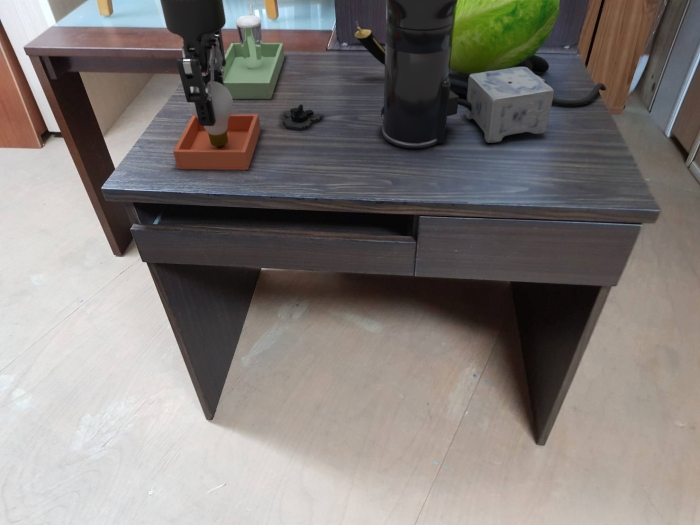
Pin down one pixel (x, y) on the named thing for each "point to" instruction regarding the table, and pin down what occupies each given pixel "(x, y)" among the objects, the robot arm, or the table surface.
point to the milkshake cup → (250, 39)
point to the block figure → (300, 118)
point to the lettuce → (499, 33)
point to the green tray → (252, 72)
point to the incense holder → (509, 102)
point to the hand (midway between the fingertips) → (213, 112)
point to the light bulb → (218, 114)
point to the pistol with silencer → (378, 52)
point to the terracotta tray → (203, 155)
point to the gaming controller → (535, 65)
